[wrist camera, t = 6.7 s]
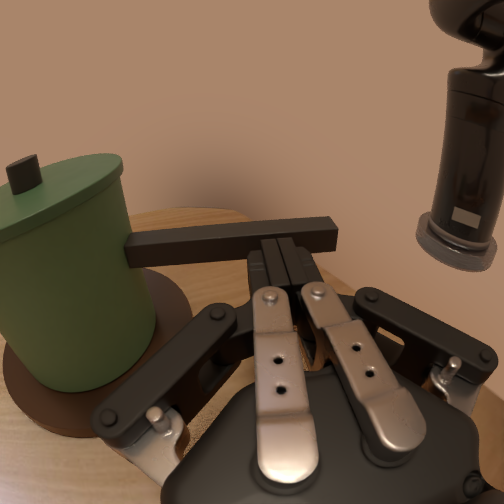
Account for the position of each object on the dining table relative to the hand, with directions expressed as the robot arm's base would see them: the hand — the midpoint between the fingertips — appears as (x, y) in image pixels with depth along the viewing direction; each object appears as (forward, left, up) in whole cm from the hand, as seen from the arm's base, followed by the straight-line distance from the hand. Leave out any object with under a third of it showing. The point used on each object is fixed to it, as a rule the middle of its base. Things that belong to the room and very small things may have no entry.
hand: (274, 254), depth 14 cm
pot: (+6, -5, -6) cm, 10 cm away
